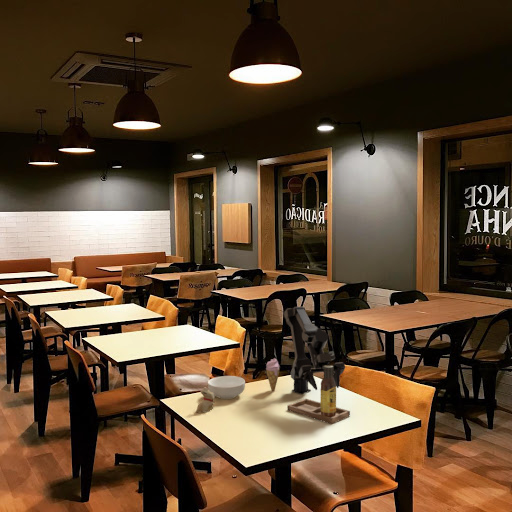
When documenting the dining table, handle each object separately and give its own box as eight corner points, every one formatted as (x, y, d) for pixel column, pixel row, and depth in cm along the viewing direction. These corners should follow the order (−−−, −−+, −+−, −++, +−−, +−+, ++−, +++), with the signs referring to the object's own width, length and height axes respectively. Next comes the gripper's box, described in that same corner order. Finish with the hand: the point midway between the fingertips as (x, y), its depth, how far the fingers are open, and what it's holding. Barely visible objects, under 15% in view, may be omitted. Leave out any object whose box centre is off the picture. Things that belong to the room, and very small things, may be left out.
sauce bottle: (332, 418, 223) (332, 369, 221) (317, 416, 226) (317, 367, 225) (338, 413, 228) (338, 365, 227) (324, 411, 232) (324, 363, 230)
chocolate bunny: (215, 411, 235) (214, 388, 235) (196, 412, 234) (195, 389, 233) (214, 407, 241) (213, 384, 240) (195, 408, 239) (195, 385, 239)
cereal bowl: (201, 395, 257) (200, 380, 256) (230, 388, 267) (230, 373, 266) (222, 405, 243) (221, 389, 243) (252, 397, 253) (252, 381, 253)
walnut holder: (306, 403, 244) (306, 398, 243) (349, 415, 227) (349, 411, 227) (287, 410, 235) (287, 405, 235) (331, 423, 219) (331, 418, 219)
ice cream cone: (283, 390, 262) (282, 358, 261) (274, 393, 257) (273, 361, 256) (272, 387, 266) (272, 356, 265) (263, 390, 262) (263, 359, 261)
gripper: (300, 346, 229) (310, 380, 219) (343, 343, 234) (354, 376, 224) (294, 360, 237) (303, 394, 228) (336, 357, 242) (346, 390, 232)
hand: (327, 388), depth 228 cm, fingers open, 9 cm apart
